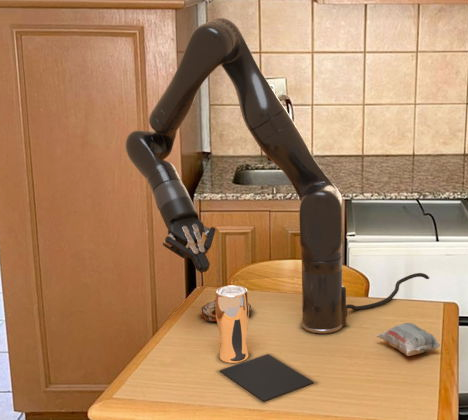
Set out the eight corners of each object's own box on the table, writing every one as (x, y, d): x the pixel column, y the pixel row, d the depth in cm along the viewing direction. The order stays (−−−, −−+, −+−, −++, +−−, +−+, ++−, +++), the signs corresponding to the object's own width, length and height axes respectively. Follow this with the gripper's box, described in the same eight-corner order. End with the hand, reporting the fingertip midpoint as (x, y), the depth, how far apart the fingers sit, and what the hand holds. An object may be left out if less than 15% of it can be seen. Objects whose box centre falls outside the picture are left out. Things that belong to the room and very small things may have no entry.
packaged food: (407, 364, 168) (408, 342, 166) (375, 343, 178) (376, 322, 176) (441, 355, 172) (442, 334, 170) (408, 335, 182) (408, 315, 180)
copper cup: (245, 365, 168) (242, 297, 164) (213, 362, 170) (210, 295, 166) (254, 350, 175) (252, 285, 171) (223, 348, 176) (220, 283, 172)
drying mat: (219, 371, 166) (219, 370, 166) (268, 355, 173) (268, 354, 173) (263, 402, 154) (263, 400, 153) (313, 383, 160) (313, 381, 160)
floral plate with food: (254, 305, 200) (253, 276, 198) (248, 324, 188) (247, 294, 186) (205, 305, 200) (204, 276, 198) (197, 324, 189) (195, 294, 187)
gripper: (153, 200, 175) (183, 268, 169) (206, 190, 183) (236, 255, 177) (143, 218, 181) (172, 285, 175) (195, 208, 189) (225, 272, 183)
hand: (204, 270), depth 176 cm, fingers closed
